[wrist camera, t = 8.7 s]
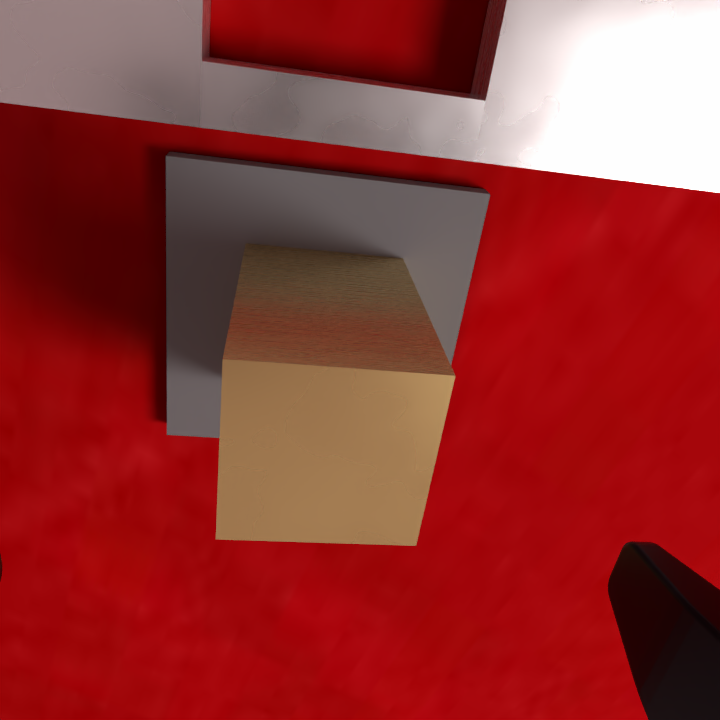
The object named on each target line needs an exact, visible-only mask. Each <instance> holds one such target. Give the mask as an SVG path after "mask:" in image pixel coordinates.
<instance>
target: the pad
mask: <svg viewBox="0 0 720 720" xmlns="http://www.w3.org/2000/svg"><path fill="white" fill-rule="evenodd" d="M489 198H490V194H489V193H488V192H487V191H486V190H485V189H480V188H471V187H463V186H454V185H446V184H438V183H429V182H421V181H413V180H404V179H396V178H387V177H379V176H371V175H362V174H354V173H345V172H337V171H329V170H320V169H312V168H303V167H295V166H287V165H278V164H270V163H262V162H253V161H245V160H236V159H228V158H220V157H211V156H203V155H194V154H186V153H178V152H169V153H168V154H167V155H166V321H167V435H180V436H198V437H215V438H220V414H221V388H222V361H223V354H224V349H225V344H226V339H227V334H228V329H229V324H230V319H231V315H232V310H233V305H234V300H235V295H236V290H237V285H238V280H239V275H240V270H241V265H242V260H243V255H244V250H245V245H246V243H251V244H261V245H272V246H282V247H292V248H302V249H312V250H323V251H333V252H343V253H353V254H364V255H374V256H384V257H394V258H403V259H404V262H405V264H406V266H407V268H408V271H409V273H410V275H411V277H412V280H413V282H414V284H415V286H416V289H417V291H418V293H419V295H420V298H421V300H422V302H423V304H424V307H425V309H426V311H427V313H428V316H429V318H430V320H431V322H432V325H433V327H434V329H435V331H436V333H437V336H438V338H439V340H440V342H441V345H442V347H443V349H444V351H445V354H446V356H447V358H448V360H449V363H450V365H451V363H452V358H453V354H454V350H455V345H456V341H457V337H458V332H459V328H460V324H461V319H462V315H463V311H464V306H465V302H466V298H467V293H468V289H469V285H470V280H471V276H472V271H473V267H474V263H475V258H476V254H477V250H478V245H479V241H480V237H481V232H482V228H483V224H484V219H485V215H486V211H487V206H488V202H489Z"/></svg>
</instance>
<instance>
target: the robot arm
mask: <svg viewBox="0 0 720 720" xmlns="http://www.w3.org/2000/svg"><path fill="white" fill-rule="evenodd" d="M1 576H2V560H1V555H0V581H1ZM608 593H609V598H610V601H611V605H612V608H613V611H614V615H615V618H616V621H617V625H618V628H619V632H620V635H621V638H622V642H623V645H624V648H625V652H626V655H627V659H628V662H629V665H630V669H631V672H632V675H633V679H634V682H635V685H636V688H637V691H638V694H639V696H640V699H641V702H642V704H643V707H644V710H645V712H646V715H647V717H648V719H649V720H720V590H719V589H718V588H716V587H715V586H714V585H712V584H711V583H709V582H708V581H707V580H705V579H704V578H703V577H701V576H700V575H698V574H697V573H696V572H694V571H693V570H692V569H690V568H689V567H687V566H686V565H685V564H683V563H682V562H681V561H679V560H678V559H676V558H675V557H674V556H672V555H671V554H670V553H668V552H667V551H665V550H664V549H663V548H661V547H660V546H658V545H657V544H655V543H651V542H628V543H626V544H625V545H624V546H623V548H622V550H621V552H620V555H619V557H618V559H617V562H616V564H615V566H614V568H613V571H612V573H611V575H610V578H609V582H608Z"/></svg>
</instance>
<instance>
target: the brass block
mask: <svg viewBox="0 0 720 720" xmlns="http://www.w3.org/2000/svg"><path fill="white" fill-rule="evenodd" d="M454 380H455V374H454V372H453V369H452V367H451V365H450V363H449V360H448V358H447V356H446V354H445V351H444V349H443V347H442V345H441V342H440V340H439V338H438V336H437V333H436V331H435V329H434V327H433V325H432V322H431V320H430V318H429V316H428V313H427V311H426V309H425V307H424V304H423V302H422V300H421V298H420V295H419V293H418V291H417V289H416V286H415V284H414V282H413V280H412V277H411V275H410V273H409V271H408V268H407V266H406V264H405V262H404V259H403V258H394V257H384V256H374V255H364V254H353V253H343V252H333V251H323V250H312V249H302V248H292V247H282V246H272V245H261V244H251V243H246V245H245V250H244V255H243V260H242V265H241V270H240V275H239V280H238V285H237V290H236V295H235V300H234V305H233V310H232V315H231V319H230V324H229V329H228V334H227V339H226V344H225V349H224V354H223V361H222V388H221V414H220V441H219V468H218V494H217V521H216V539H223V540H254V541H285V542H316V543H347V544H378V545H409V546H416V543H417V539H418V535H419V531H420V526H421V522H422V518H423V513H424V509H425V505H426V500H427V496H428V492H429V487H430V483H431V479H432V474H433V470H434V466H435V461H436V457H437V453H438V449H439V444H440V440H441V436H442V431H443V427H444V423H445V418H446V414H447V410H448V405H449V401H450V397H451V392H452V388H453V384H454Z"/></svg>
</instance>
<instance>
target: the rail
mask: <svg viewBox="0 0 720 720" xmlns="http://www.w3.org/2000/svg"><path fill="white" fill-rule="evenodd" d="M210 7H211V0H0V102H2V103H10V104H18V105H26V106H34V107H42V108H50V109H58V110H66V111H74V112H82V113H90V114H98V115H105V116H113V117H121V118H129V119H137V120H145V121H153V122H161V123H169V124H177V125H185V126H193V127H201V128H209V129H217V130H225V131H233V132H241V133H249V134H257V135H265V136H273V137H281V138H289V139H297V140H305V141H313V142H321V143H329V144H337V145H345V146H353V147H361V148H369V149H377V150H385V151H393V152H401V153H409V154H417V155H425V156H433V157H441V158H449V159H457V160H465V161H473V162H481V163H488V164H496V165H504V166H512V167H520V168H528V169H536V170H544V171H552V172H560V173H568V174H576V175H584V176H592V177H600V178H608V179H616V180H624V181H632V182H640V183H648V184H656V185H664V186H672V187H680V188H688V189H696V190H704V191H712V192H720V0H489V3H488V8H487V13H486V18H485V23H484V28H483V33H482V38H481V43H480V48H479V53H478V58H477V63H476V68H475V73H474V78H473V83H472V88H471V93H470V94H469V93H462V92H455V91H448V90H441V89H434V88H427V87H420V86H413V85H405V84H398V83H391V82H384V81H377V80H370V79H363V78H356V77H349V76H342V75H335V74H327V73H320V72H313V71H306V70H299V69H292V68H285V67H278V66H271V65H264V64H257V63H250V62H242V61H235V60H228V59H221V58H214V57H209V48H210Z"/></svg>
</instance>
